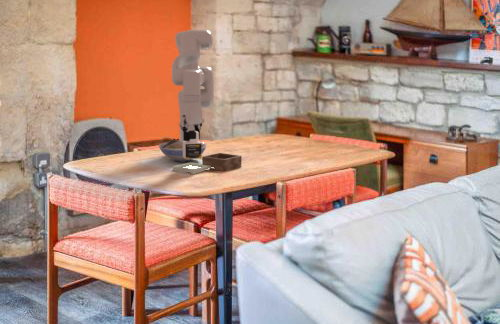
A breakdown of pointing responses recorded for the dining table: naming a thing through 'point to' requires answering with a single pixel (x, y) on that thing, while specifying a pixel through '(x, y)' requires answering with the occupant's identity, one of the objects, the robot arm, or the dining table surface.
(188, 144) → the medicine bottle
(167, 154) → the ramen bowl
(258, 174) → the dining table surface
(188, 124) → the robot arm
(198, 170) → the tray
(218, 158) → the holder
